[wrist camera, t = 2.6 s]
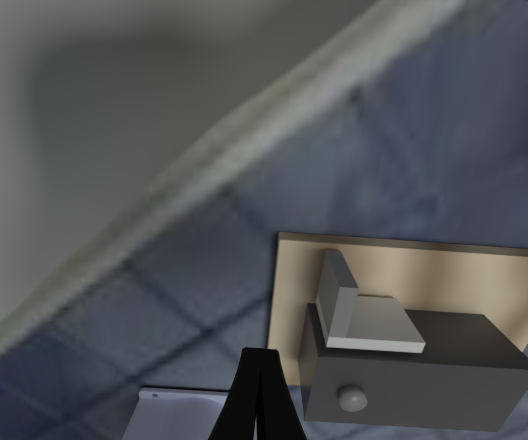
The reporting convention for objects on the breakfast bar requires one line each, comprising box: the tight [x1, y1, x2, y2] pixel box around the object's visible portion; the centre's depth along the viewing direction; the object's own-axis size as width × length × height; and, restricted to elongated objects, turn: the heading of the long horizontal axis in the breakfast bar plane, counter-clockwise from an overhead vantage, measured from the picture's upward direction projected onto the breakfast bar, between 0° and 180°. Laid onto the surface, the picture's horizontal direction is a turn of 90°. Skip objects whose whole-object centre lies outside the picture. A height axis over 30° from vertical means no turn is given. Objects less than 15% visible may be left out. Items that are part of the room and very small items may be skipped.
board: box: [267, 232, 528, 385], centre depth 21 cm, size 20×14×1 cm
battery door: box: [316, 250, 426, 353], centre depth 16 cm, size 6×4×4 cm
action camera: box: [298, 303, 528, 432], centre depth 18 cm, size 14×6×5 cm, turn 86°
